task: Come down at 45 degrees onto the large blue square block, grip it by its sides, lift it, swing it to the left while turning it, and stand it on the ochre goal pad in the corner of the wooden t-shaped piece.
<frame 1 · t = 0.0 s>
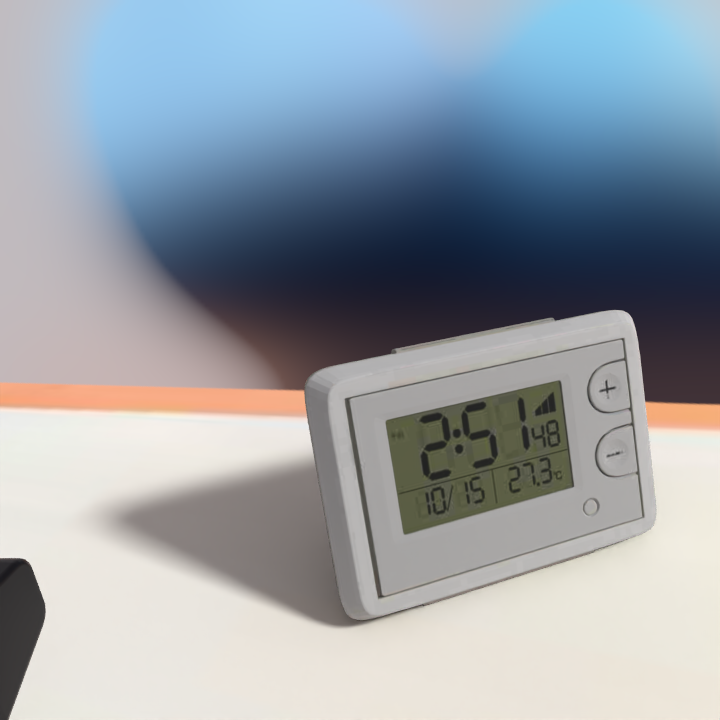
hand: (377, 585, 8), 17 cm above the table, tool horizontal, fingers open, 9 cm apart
digital clock: (488, 551, 32), on the table
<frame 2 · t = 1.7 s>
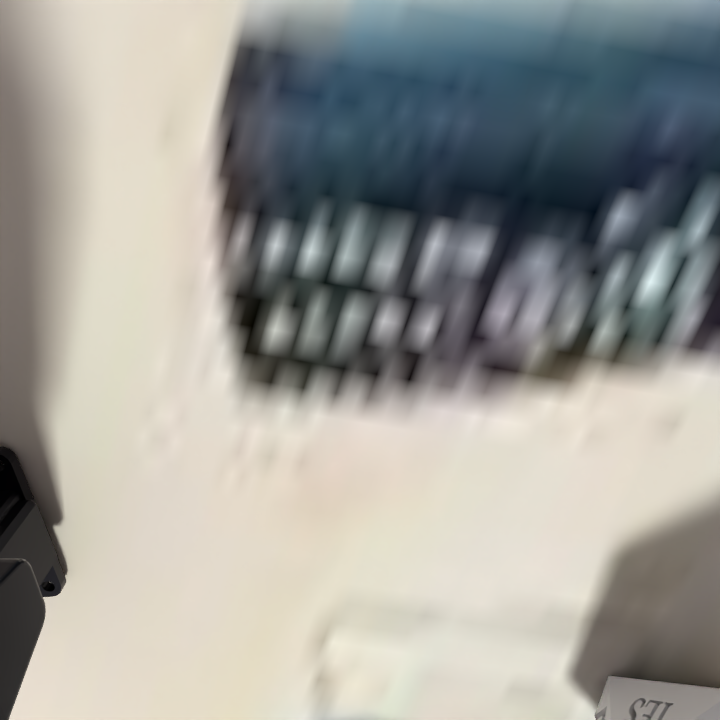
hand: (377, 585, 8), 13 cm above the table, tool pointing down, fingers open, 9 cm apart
die: (656, 701, 28), on the table
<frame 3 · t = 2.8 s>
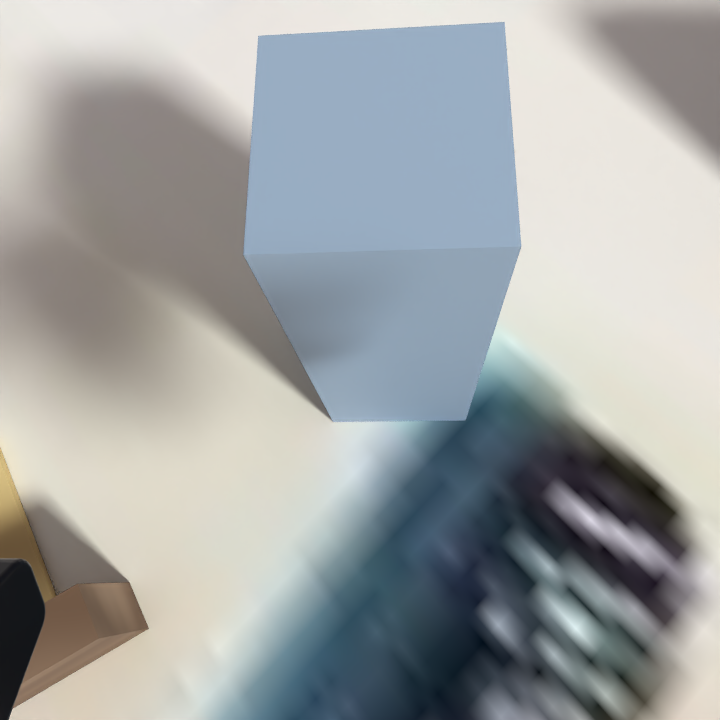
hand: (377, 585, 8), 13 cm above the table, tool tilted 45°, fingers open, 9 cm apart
large blue square block: (398, 358, 23), on the table
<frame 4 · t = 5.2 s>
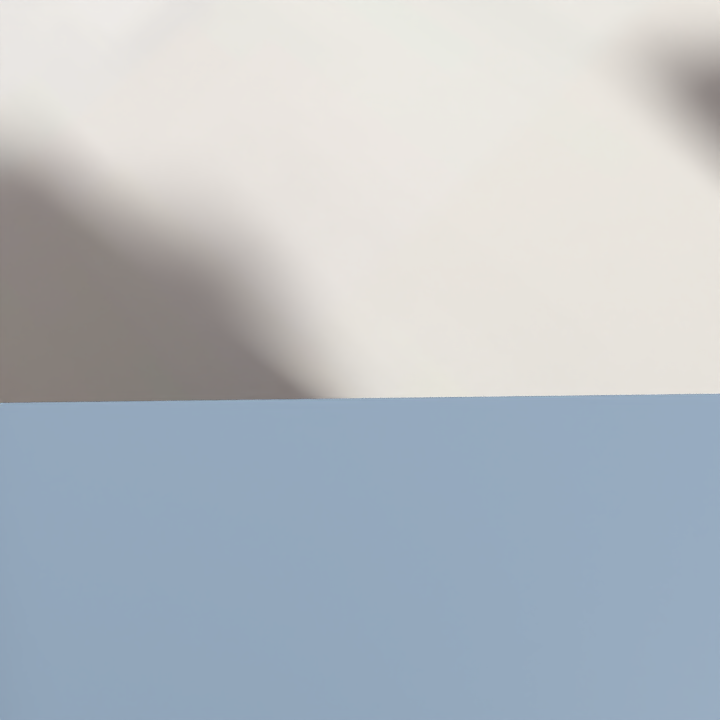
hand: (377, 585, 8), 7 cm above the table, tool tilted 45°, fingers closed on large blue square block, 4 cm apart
large blue square block: (394, 650, 14), on the table, touching gripper
when the fingers open (8 cm above the table, at t = 8.7 s): large blue square block drops 1 cm, resting on wooden t-shaped piece.
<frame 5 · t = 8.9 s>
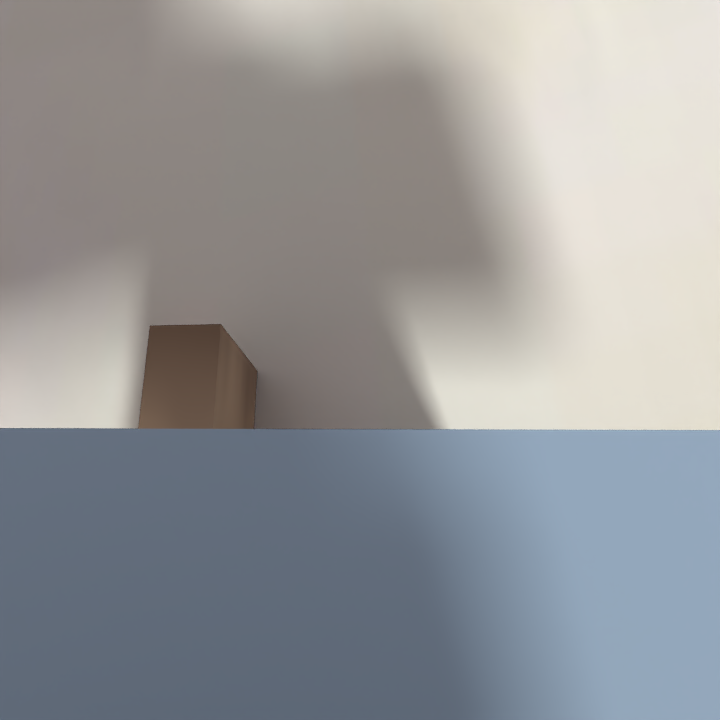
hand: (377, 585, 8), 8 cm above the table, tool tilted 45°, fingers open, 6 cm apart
wooden t-shaped piece: (397, 642, 15), on the table
large blue square block: (396, 642, 15), resting on wooden t-shaped piece
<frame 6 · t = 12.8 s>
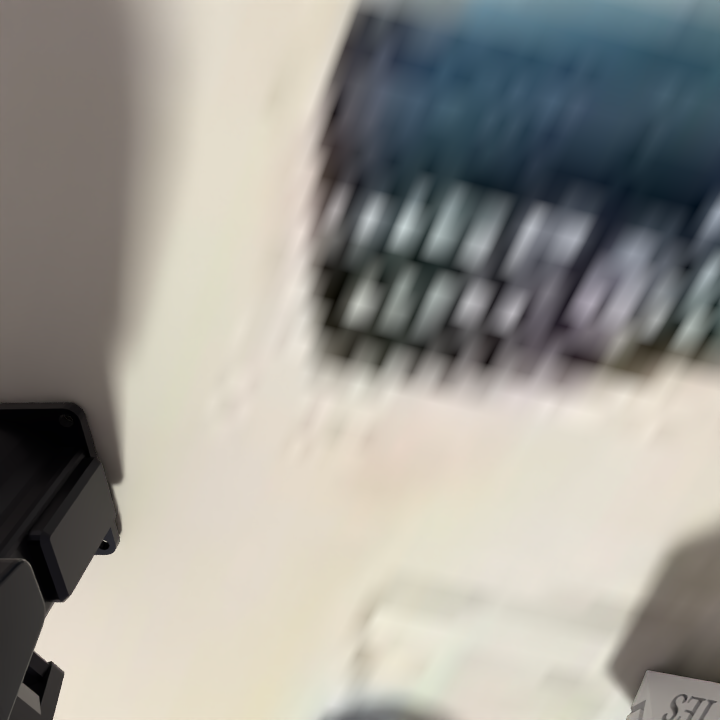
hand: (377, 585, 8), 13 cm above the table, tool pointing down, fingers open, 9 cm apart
die: (690, 698, 28), on the table
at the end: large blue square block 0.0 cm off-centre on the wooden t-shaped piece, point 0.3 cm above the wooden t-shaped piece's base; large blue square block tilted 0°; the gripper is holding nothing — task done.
